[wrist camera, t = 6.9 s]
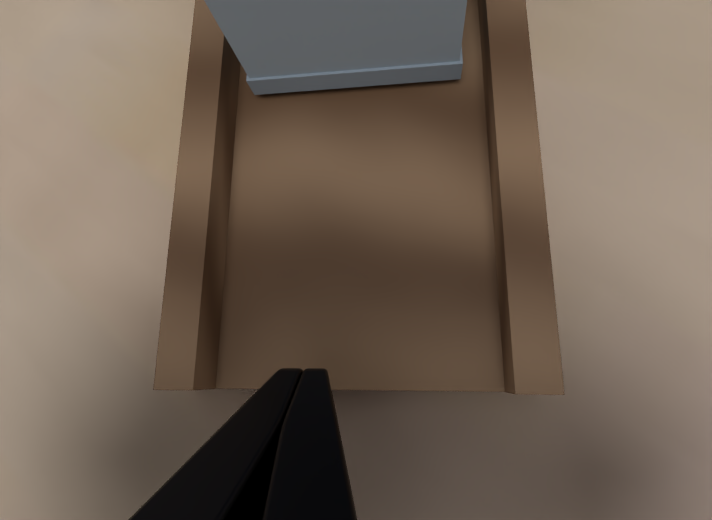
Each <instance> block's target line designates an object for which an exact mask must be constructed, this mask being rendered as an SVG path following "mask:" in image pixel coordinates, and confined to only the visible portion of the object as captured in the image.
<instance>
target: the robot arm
mask: <svg viewBox="0 0 712 520" xmlns="http://www.w3.org/2000/svg"><path fill="white" fill-rule="evenodd" d="M129 520H357V516H356V511H355V506H354V501H353V496H352V491H351V486H350V481H349V476H348V471H347V466H346V461H345V456H344V451H343V446H342V441H341V436H340V431H339V426H338V421H337V416H336V410H335V405H334V400H333V395H332V390H331V385H330V380H329V375H328V371H327V370H326V369H325V368H306V369H305V370H304V371H303V370H302V369H301V368H281V369H279V370H278V371H276V372H275V373H274V374H273V375H272V376H271V377H270V378H269V379H268V381H267V382H266V383H265V384H264V385H263V386H262V387H261V388H260V389H259V390H258V391H257V392H256V393H255V394H254V395H253V396H252V397H251V398H250V399H249V400H248V401H247V402H246V403H245V404H244V405H243V406H242V407H241V408H240V409H239V410H238V411H237V412H236V413H235V414H234V415H233V416H232V417H231V418H230V419H229V420H228V421H227V422H226V423H225V424H224V425H223V426H222V427H221V428H220V429H219V430H218V431H217V432H216V433H215V434H214V435H213V436H212V437H211V438H210V439H209V440H208V441H207V442H206V443H205V444H204V445H203V446H202V447H201V448H200V449H199V450H198V451H197V452H196V453H195V454H194V455H193V456H192V457H191V458H190V459H189V460H188V461H187V462H186V463H185V464H184V465H183V466H182V467H181V468H180V469H179V470H178V471H177V472H176V473H175V474H174V475H173V476H172V477H171V478H170V479H169V480H168V481H167V482H166V483H165V484H164V485H163V486H162V487H161V488H160V489H159V490H158V491H157V492H156V493H155V494H154V495H153V496H152V497H151V498H150V499H149V500H148V501H147V502H146V503H145V504H144V505H143V506H142V507H141V508H140V509H139V510H138V511H137V512H136V513H135V514H134V515H133V516H132V517H131V518H130V519H129Z"/></svg>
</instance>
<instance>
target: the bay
mask: <svg viewBox="0 0 712 520" xmlns="http://www.w3.org/2000/svg"><path fill="white" fill-rule="evenodd" d="M462 58H463V66H462V73H461V79H456V80H443V81H430V82H417V83H404V84H391V85H378V86H365V87H352V88H339V89H326V90H313V91H300V92H287V93H274V94H261V95H254V93H253V92H252V90H251V88H250V87H249V85H248V83H247V82H246V78H247V74H246V72H245V70H244V68H243V67H242V65H241V63H240V62H239V60H238V58H237V56H236V55H235V53H234V51H233V49H232V48H231V46H230V44H229V43H228V41H227V39H226V37H225V36H224V34H223V32H222V31H221V29H220V27H219V25H218V24H217V22H216V20H215V18H214V17H213V15H212V13H211V12H210V10H209V8H208V6H207V5H206V3H205V1H204V0H195V8H194V17H193V26H192V35H191V45H190V54H189V63H188V72H187V82H186V91H185V100H184V110H183V119H182V128H181V137H180V147H179V156H178V165H177V175H176V184H175V193H174V202H173V212H172V221H171V230H170V239H169V249H168V258H167V267H166V277H165V286H164V295H163V304H162V314H161V323H160V332H159V342H158V351H157V360H156V369H155V379H154V388H153V390H203V389H215V388H217V389H260V388H261V387H262V386H263V385H264V384H265V383H266V382H267V381H268V379H269V378H270V377H271V376H272V375H273V374H274V373H275V372H276V371H278V370H279V369H281V368H301V369H302V370H303V371H304V370H305V369H306V368H325V369H326V370H327V371H328V375H329V380H330V385H331V390H391V391H478V392H508V393H512V394H542V395H564V385H563V375H562V365H561V355H560V345H559V335H558V325H557V315H556V304H555V294H554V284H553V274H552V264H551V254H550V244H549V234H548V223H547V213H546V203H545V193H544V183H543V173H542V163H541V153H540V142H539V132H538V122H537V112H536V102H535V92H534V82H533V72H532V61H531V51H530V41H529V31H528V21H527V11H526V1H525V0H467V6H466V14H465V22H464V29H463V37H462Z"/></svg>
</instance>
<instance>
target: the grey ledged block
mask: <svg viewBox="0 0 712 520" xmlns="http://www.w3.org/2000/svg"><path fill="white" fill-rule="evenodd" d="M204 1H205V3H206V5H207V6H208V8H209V10H210V12H211V13H212V15H213V17H214V18H215V20H216V22H217V24H218V25H219V27H220V29H221V31H222V32H223V34H224V36H225V37H226V39H227V41H228V43H229V44H230V46H231V48H232V49H233V51H234V53H235V55H236V56H237V58H238V60H239V62H240V63H241V65H242V67H243V68H244V70H245V72H246V74H247V78H246V82H247V83H248V85H249V87H250V88H251V90H252V92H253V93H254V95H261V94H274V93H287V92H300V91H313V90H326V89H339V88H352V87H365V86H378V85H391V84H404V83H417V82H430V81H443V80H456V79H461V73H462V66H463V58H462V37H463V29H464V22H465V14H466V6H467V0H204Z"/></svg>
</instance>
